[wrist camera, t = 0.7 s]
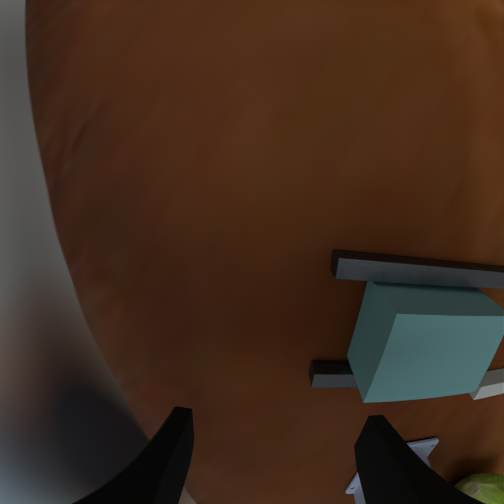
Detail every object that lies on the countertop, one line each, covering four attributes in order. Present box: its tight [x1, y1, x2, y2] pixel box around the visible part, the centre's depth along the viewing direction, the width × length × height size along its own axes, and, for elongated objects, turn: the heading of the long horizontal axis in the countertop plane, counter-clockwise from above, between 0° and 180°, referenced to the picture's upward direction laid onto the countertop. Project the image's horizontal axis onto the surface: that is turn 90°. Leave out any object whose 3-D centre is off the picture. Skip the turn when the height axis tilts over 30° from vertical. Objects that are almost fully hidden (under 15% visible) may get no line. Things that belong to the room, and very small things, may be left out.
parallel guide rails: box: [309, 250, 504, 388], centre depth 19 cm, size 9×15×2 cm, turn 85°
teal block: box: [347, 281, 504, 403], centre depth 17 cm, size 6×9×5 cm, turn 84°
